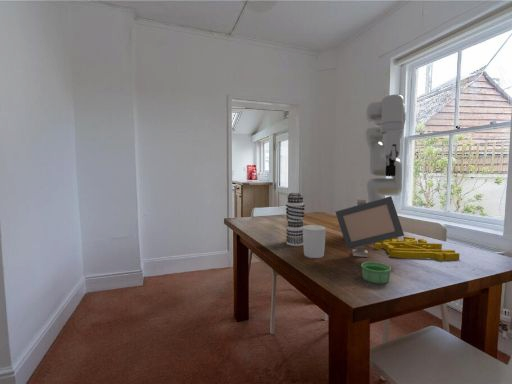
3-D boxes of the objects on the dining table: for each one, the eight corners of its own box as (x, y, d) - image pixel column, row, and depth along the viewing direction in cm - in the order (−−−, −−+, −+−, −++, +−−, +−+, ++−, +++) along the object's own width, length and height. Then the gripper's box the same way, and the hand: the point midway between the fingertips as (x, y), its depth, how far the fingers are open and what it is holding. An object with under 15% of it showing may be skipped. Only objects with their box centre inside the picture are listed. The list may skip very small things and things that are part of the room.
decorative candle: (303, 246, 127) (303, 194, 125) (283, 245, 130) (283, 193, 128) (305, 242, 135) (306, 192, 133) (287, 240, 138) (287, 192, 136)
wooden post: (352, 253, 116) (353, 199, 114) (367, 254, 114) (368, 199, 113) (353, 256, 112) (354, 200, 110) (368, 257, 110) (370, 200, 108)
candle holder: (300, 257, 110) (300, 228, 110) (304, 250, 120) (304, 224, 119) (324, 259, 107) (324, 230, 106) (326, 253, 116) (327, 225, 115)
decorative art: (365, 233, 142) (428, 236, 136) (365, 239, 142) (428, 241, 136) (382, 252, 109) (465, 256, 103) (382, 259, 109) (465, 263, 103)
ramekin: (391, 286, 82) (392, 272, 81) (360, 282, 85) (360, 268, 85) (390, 276, 90) (390, 263, 90) (361, 272, 93) (361, 260, 93)
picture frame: (347, 248, 112) (335, 211, 112) (403, 234, 106) (390, 196, 106) (347, 249, 110) (335, 212, 110) (404, 235, 104) (391, 196, 104)
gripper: (377, 132, 112) (376, 176, 113) (384, 125, 97) (383, 176, 98) (397, 131, 110) (396, 176, 111) (407, 124, 95) (406, 176, 96)
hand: (390, 176), depth 104 cm, fingers closed
